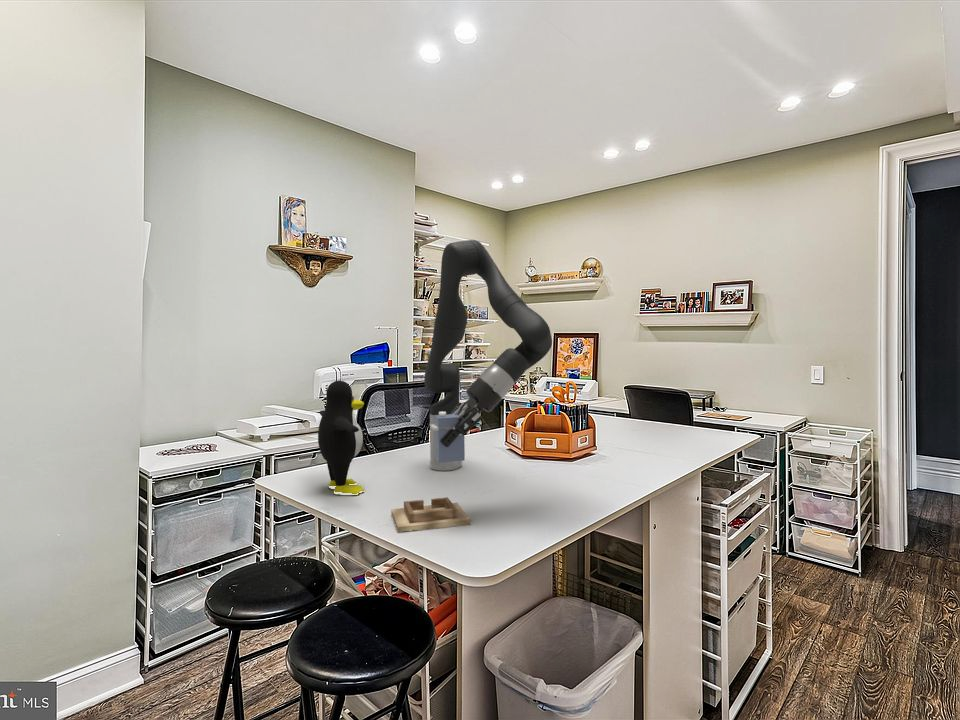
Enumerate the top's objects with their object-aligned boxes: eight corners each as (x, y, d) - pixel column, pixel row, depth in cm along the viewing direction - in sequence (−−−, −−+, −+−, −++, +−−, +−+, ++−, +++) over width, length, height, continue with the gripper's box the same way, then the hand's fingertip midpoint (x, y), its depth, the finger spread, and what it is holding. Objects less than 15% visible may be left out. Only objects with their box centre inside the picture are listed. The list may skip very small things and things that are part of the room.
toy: (387, 504, 127) (385, 384, 126) (336, 513, 121) (334, 387, 119) (347, 471, 159) (345, 375, 157) (306, 477, 153) (303, 377, 151)
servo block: (463, 455, 120) (462, 409, 120) (468, 460, 116) (468, 412, 116) (430, 458, 118) (430, 411, 117) (434, 463, 114) (434, 414, 113)
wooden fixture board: (457, 507, 124) (457, 494, 124) (470, 524, 113) (470, 510, 113) (391, 514, 120) (391, 500, 120) (397, 532, 108) (397, 517, 108)
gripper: (470, 374, 125) (422, 426, 122) (489, 379, 112) (436, 437, 108) (491, 394, 127) (444, 446, 124) (512, 402, 113) (460, 460, 110)
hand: (441, 442), depth 116 cm, fingers closed on servo block, 4 cm apart
